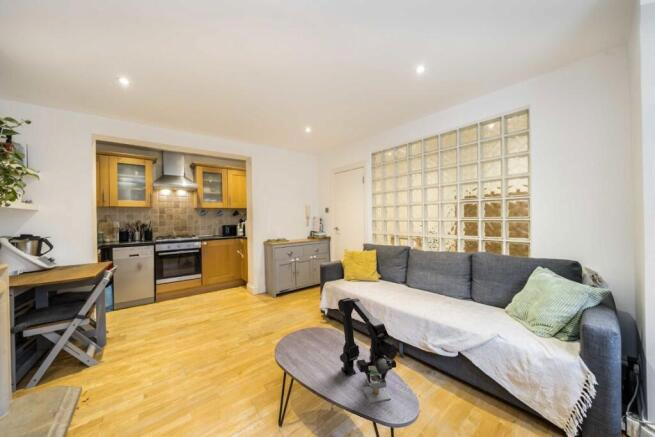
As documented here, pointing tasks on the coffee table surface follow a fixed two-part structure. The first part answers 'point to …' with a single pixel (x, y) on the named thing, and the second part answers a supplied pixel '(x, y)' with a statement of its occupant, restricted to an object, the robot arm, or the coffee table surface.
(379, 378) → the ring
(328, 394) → the coffee table surface
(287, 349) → the coffee table surface
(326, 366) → the coffee table surface
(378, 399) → the piston base
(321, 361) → the coffee table surface
